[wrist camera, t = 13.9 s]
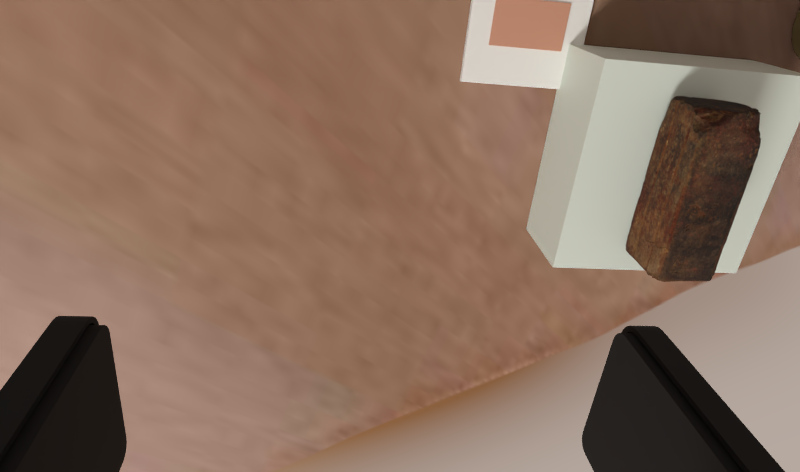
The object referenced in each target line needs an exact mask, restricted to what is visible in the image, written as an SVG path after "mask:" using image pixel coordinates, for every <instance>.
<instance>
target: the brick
mask: <svg viewBox="0 0 800 472" xmlns="http://www.w3.org/2000/svg"><path fill="white" fill-rule="evenodd" d="M759 124H760V112H759V111H758V109H756V108H751V107H750V106H747V105H744V104H740V103H736V102H730V101H724V100H716V99H707V98H695V97H686V96H676V97H674V98H673V99H672V100H671V102H670V104H669V106H668V109H667V112H666V115H665V117H664V120H663V122H662V124H661V126H660V129H659V131H658V135H657V138H656V141H655V145H654V148H653V151H652V155H651V158H650V161H649V165H648V168H647V172H646V175H645V181H644V182H643V186H642V190H641V194H640V197H639V199H638V202H637V205H636V208H635V212H634V215H633V219H632V222H631V227H630V231H629V234H628V237H627V242H626V251H627V252H628V253H629V255H630V256H631V257H633V258H634V260H636V261H637V263H638V264H639V265H640V266H641V267H642V268H643V269H644V270H645V271H647V274H648V275H650V276H652V278H656V279H657V280H659V281H663V282H667V281H710V280H711V278H712V276H713V275H714V273H715V271H716V268H717V265H718V262H719V259H720V256H721V253H722V250H723V248H724V245H725V243H726V241H727V237H728V235H729V232H730V229H731V227H732V224H733V221H734V219H735V216H736V213H737V210H738V208H739V205H740V202H741V199H742V197H743V194H744V191H745V189H746V186H747V183H748V181H749V178H750V175H751V173H752V170H753V166H754V163H755V161H756V158H757V156H758V151H759V148H760V143H761V138H760V131H759Z"/></svg>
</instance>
